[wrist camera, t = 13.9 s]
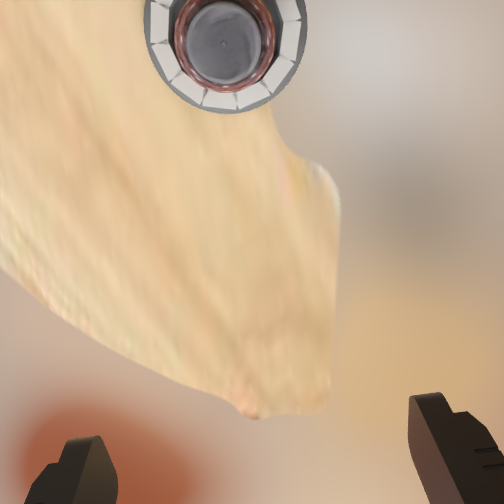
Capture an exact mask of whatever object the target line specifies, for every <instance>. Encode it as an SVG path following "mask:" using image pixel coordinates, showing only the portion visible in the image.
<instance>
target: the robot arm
mask: <svg viewBox="0 0 504 504" xmlns="http://www.w3.org/2000/svg"><path fill="white" fill-rule="evenodd" d="M408 443H409V448H410V453H411V456H412V459H413V462H414V465H415V467H416V470H417V472H418V475H419V477H420V480H421V482H422V485H423V487H424V490H425V492H426V495H427V497H428V500H429V502H430V504H504V456H503V454H502V452H501V451H499V449H498V446H497V444H496V443H495V441H494V439H493V438H492V436H491V434H490V433H489V431H488V429H487V428H486V427H485V426H484V425H483V424H482V423H481V422H479V421H478V420H477V419H476V418H475V417H473V416H472V415H471V414H470V413H469V412H467V411H466V412H458V413H453V412H452V410H451V408H450V406H449V404H448V402H447V401H446V399H445V397H444V396H443V394H442V393H439V392H437V393H429V394H422V395H414V396H410V398H409V416H408ZM117 495H118V478H117V474H116V471H115V468H114V466H113V463H112V461H111V459H110V456H109V454H108V452H107V449H106V447H105V445H104V442H103V440H102V438H101V437H100V436H90V437H83V438H75V439H70V440H68V441H67V443H66V444H65V446H64V449H63V451H62V454H61V457H60V459H59V462H58V463H52V464H48V465H47V466H46V468H45V469H44V470H43V471H42V472H41V474H40V475H39V476H38V478H37V479H36V480H35V481H34V482H33V484H32V486H31V488H30V491H29V493H28V496H27V498H26V500H25V503H24V504H116V500H117Z"/></svg>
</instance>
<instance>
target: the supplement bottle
mask: <svg viewBox="0 0 504 504" xmlns="http://www.w3.org/2000/svg"><path fill="white" fill-rule="evenodd" d="M275 41H276V35H275V26H274V22H273V19H272V16H271V14H270V12H269V10H268V8H267V6H266V4H265V3H264V2H263V0H186V1H185V2H184V4H183V5H182V7H181V9H180V11H179V13H178V16H177V19H176V22H175V29H174V43H175V49H176V53H177V56H178V59H179V62H180V64H181V66H182V67H183V69H184V70H185V72H186V73H187V74H188V75H189V76H190V78H192V79H193V80H194V81H195V82H196V83H197V84H199V85H200V86H202V87H204V88H206V89H208V90H211V91H215V92H220V93H231V92H237V91H241V90H243V89H245V88H248V87H249V86H251V85H252V84H254V83H255V82H256V81H258V80H259V79H260V77H261V76H262V75H263V74H264V73H265V71H266V70H267V68H268V67H269V65H270V62H271V60H272V57H273V54H274V49H275Z"/></svg>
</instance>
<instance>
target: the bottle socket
mask: <svg viewBox="0 0 504 504" xmlns="http://www.w3.org/2000/svg"><path fill="white" fill-rule="evenodd" d="M185 1H186V0H146V3H145V8H144V33H145V39H146V44H147V48H148V51H149V54H150V57H151V59H152V62H153V64H154V66H155V68H156V70H157V71H158V73H159V75H160V76H161V78H162V79H163V80H164V82H165V83H166V84H167V85H168V86H169V87H170V88H171V90H172V91H173V92H174V93H176V94H177V95H178V96H179V97H181V98H182V99H183V100H185V101H186V102H188V103H190V104H191V105H193V106H195V107H198V108H200V109H203V110H206V111H209V112H214V113H220V114H234V113H241V112H246V111H250V110H252V109H255V108H258V107H260V106H262V105H263V104H265V103H267V102H268V101H270V100H271V99H273V98H274V97H275V96H276V95H278V94H279V93H280V92H281V91H282V90H283V89H284V87H285V86H286V85H287V84H288V83H289V81H290V80H291V78H292V77H293V75H294V74H295V72H296V70H297V68H298V66H299V63H300V61H301V59H302V56H303V53H304V48H305V44H306V38H307V13H306V6H305V2H304V0H263V2H264V3H265V4H266V6H267V8H268V10H269V12H270V14H271V16H272V19H273V22H274V26H275V35H276V41H275V49H274V54H273V57H272V60H271V62H270V65H269V67H268V68H267V70H266V71H265V73H264V74H263V75H262V76H261V77H260V79H259V80H258V81H256V82H255V83H254V84H252V85H251V86H249V87H248V88H245V89H243V90H241V91H237V92H231V93H220V92H215V91H211V90H208V89H206V88H204V87H202V86H200V85H199V84H197V83H196V82H195V81H194V80H193V79H192V78H190V76H189V75H188V74H187V73H186V72H185V70H184V69H183V67H182V66H181V64H180V62H179V59H178V56H177V53H176V49H175V43H174V29H175V22H176V19H177V16H178V13H179V11H180V9H181V7H182V5H183V4H184V2H185Z"/></svg>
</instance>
